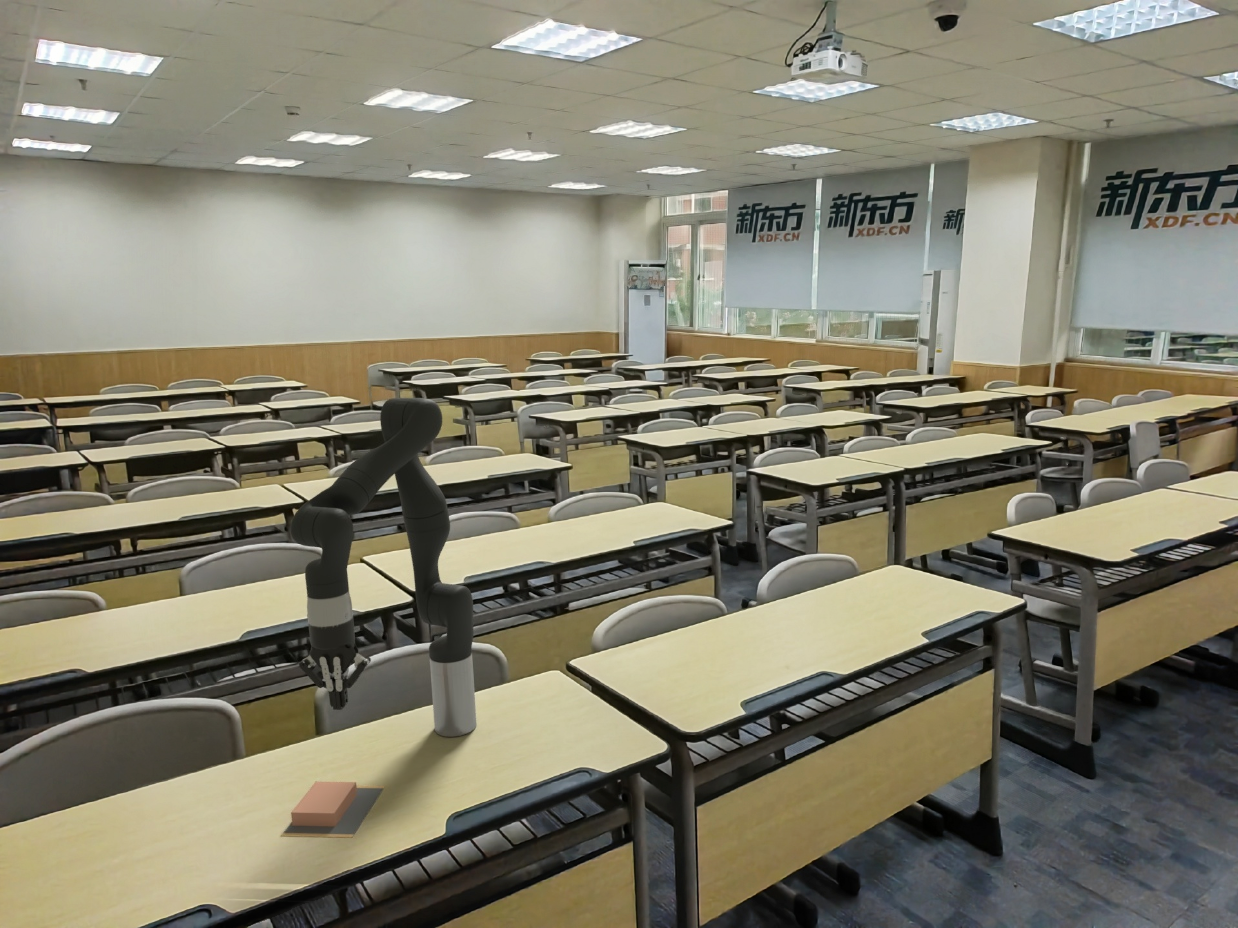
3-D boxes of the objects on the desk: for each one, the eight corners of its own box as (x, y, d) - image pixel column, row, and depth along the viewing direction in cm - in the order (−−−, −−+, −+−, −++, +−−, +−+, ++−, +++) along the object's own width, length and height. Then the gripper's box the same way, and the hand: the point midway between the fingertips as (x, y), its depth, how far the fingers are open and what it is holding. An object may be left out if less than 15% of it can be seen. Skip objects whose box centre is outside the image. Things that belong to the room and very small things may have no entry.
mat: (320, 787, 160) (320, 784, 160) (385, 788, 159) (385, 785, 159) (281, 838, 144) (280, 835, 144) (352, 840, 143) (352, 837, 143)
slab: (357, 794, 156) (316, 793, 157) (356, 782, 156) (315, 781, 156) (335, 826, 146) (292, 825, 147) (334, 813, 146) (291, 812, 146)
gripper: (374, 609, 148) (382, 698, 151) (304, 609, 149) (313, 698, 152) (358, 624, 140) (367, 718, 143) (284, 624, 141) (294, 717, 145)
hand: (339, 707), depth 148 cm, fingers closed
